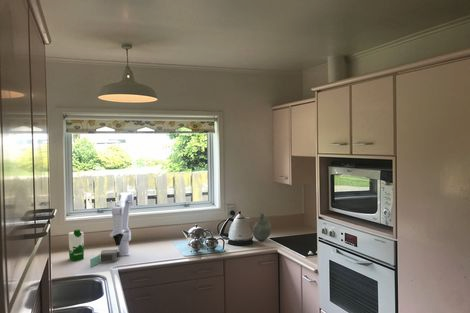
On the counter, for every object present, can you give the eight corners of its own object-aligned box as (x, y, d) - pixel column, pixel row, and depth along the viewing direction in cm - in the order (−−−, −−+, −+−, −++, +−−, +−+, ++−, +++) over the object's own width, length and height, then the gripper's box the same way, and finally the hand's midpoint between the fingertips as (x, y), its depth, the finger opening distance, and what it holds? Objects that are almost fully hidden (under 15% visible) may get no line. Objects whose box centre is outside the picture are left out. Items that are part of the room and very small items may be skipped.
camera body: (102, 258, 254) (102, 250, 254) (120, 257, 256) (120, 249, 256) (100, 262, 246) (100, 253, 246) (118, 261, 248) (118, 252, 248)
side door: (100, 262, 246) (100, 254, 246) (91, 267, 237) (91, 258, 237) (99, 262, 246) (99, 254, 246) (90, 266, 237) (90, 258, 237)
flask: (249, 239, 304) (249, 212, 303) (269, 238, 309) (269, 211, 308) (254, 243, 293) (254, 215, 292) (274, 241, 297) (274, 214, 297)
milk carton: (72, 262, 247) (71, 231, 247) (67, 258, 254) (66, 229, 253) (85, 259, 253) (85, 229, 252) (80, 256, 260) (80, 227, 259)
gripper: (119, 222, 257) (119, 242, 258) (105, 226, 244) (105, 247, 244) (128, 223, 255) (128, 243, 255) (114, 227, 241) (115, 248, 242)
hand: (117, 245), depth 249 cm, fingers closed
